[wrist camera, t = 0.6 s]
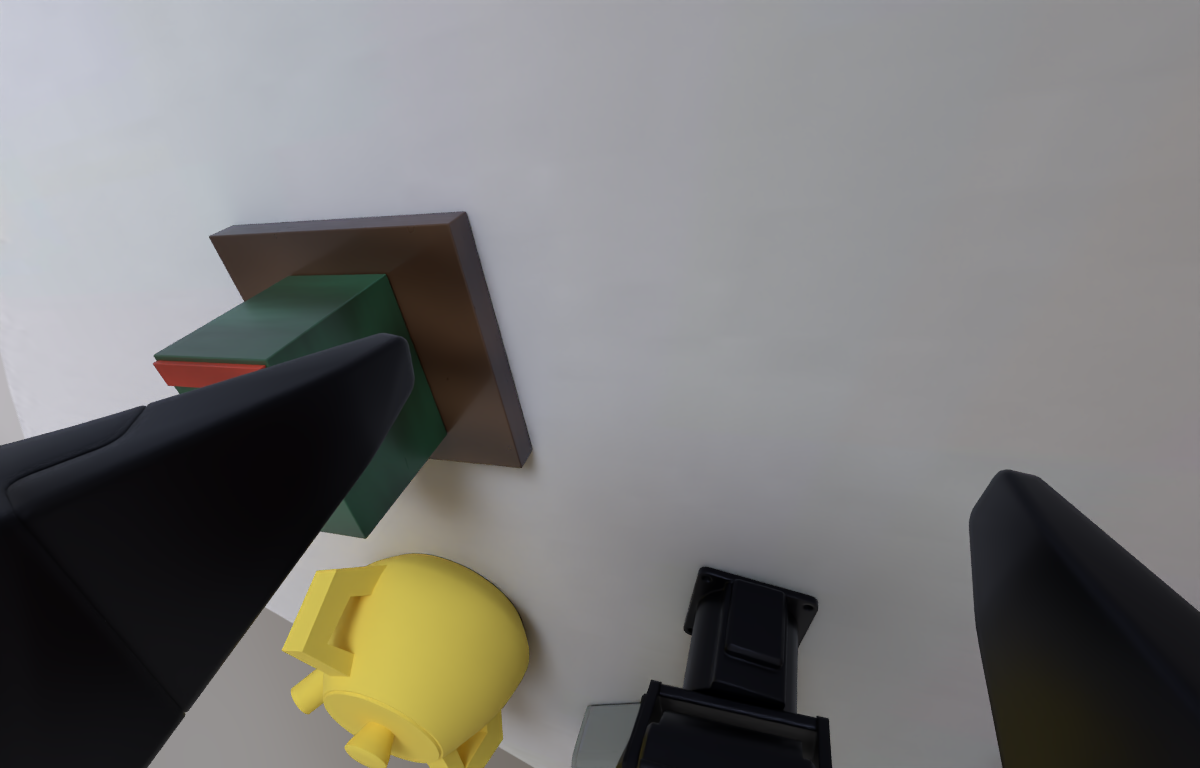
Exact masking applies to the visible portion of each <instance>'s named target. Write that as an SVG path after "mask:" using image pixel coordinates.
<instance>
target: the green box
mask: <svg viewBox="0 0 1200 768" xmlns="http://www.w3.org/2000/svg"><path fill="white" fill-rule="evenodd" d="M378 333H388V334H392V335H397V336H401V337H403V338H405V339H406V340H407V342H408V344H409V349H410V354H411V360H412V365H413V371H414V377H415V380H414V387H413V390H412V392H411V394H410V396H409V397H408V399H407V401H406V402H405V404H404V406H403V408H402V409H401V411H400V413H399V415H398V416H397V418H396V420H395V421H394V423H393V425H392V427H391V428H390V430H389V432H388V434H387V435H386V437H385V439H384V440H383V442H382V444H381V446H380V447H379V449H378V451H377V452H376V454H375V456H374V457H373V459H372V460H371V462H370V463H369V465H368V466H367V468H366V469H365V471H364V472H363V473H362V475H361V476H360V478H359V479H358V480H357V482H356V483H355V484H354V486H353V487H352V488H351V490H350V491H349V493H348V494H347V495H346V497H345V498H344V499H343V501H342V502H341V503H340V505H339V506H338V508H337V509H336V510H335V512H334V513H333V514H332V516H331V517H330V518H329V520H328V521H327V523H326V524H325V525H324V527H323V528H322V529H321V532H327V533H333V534H339V535H346V536H352V537H358V538H364V539H366V538H367V537H368V536H369V534H370V533H371V532H372V530H373V529H374V528H375V527H376V525H377V524H378V523H379V521H380V520H381V519H382V518H383V516H384V515H385V514H386V512H387V511H388V510H389V509H390V507H391V506H392V505H393V503H394V502H395V501H396V500H397V498H398V497H399V496H400V494H401V493H402V492H403V491H404V489H405V488H406V487H407V486H408V484H409V483H410V482H411V480H412V479H413V478H414V477H415V475H416V474H417V473H418V471H419V470H420V469H421V468H422V466H423V465H424V464H425V462H426V461H427V460H428V459H429V457H430V456H431V455H432V453H433V452H434V451H435V450H436V448H437V447H438V446H439V444H440V443H441V442H442V441H443V439H444V438H445V437H446V435H447V432H446V429H445V427H444V424H443V421H442V419H441V416H440V414H439V411H438V408H437V406H436V403H435V400H434V398H433V395H432V393H431V390H430V387H429V385H428V382H427V379H426V377H425V374H424V372H423V369H422V366H421V364H420V361H419V359H418V356H417V353H416V351H415V348H414V345H413V343H412V340H411V338H410V335H409V332H408V330H407V327H406V324H405V322H404V319H403V317H402V314H401V311H400V309H399V306H398V303H397V301H396V298H395V296H394V293H393V290H392V288H391V285H390V283H389V280H388V277H387V275H386V274H354V275H305V276H287V277H286V278H284V279H282V280H281V281H279V282H277V283H275V284H274V285H272V286H270V287H269V288H267V289H265V290H264V291H262V292H260V293H258V294H257V295H255V296H253V297H252V298H250V299H248V300H247V301H245V302H243V303H241V304H240V305H238V306H236V307H235V308H233V309H231V310H229V311H228V312H226V313H224V314H223V315H221V316H219V317H218V318H216V319H214V320H212V321H211V322H209V323H207V324H206V325H204V326H202V327H201V328H199V329H197V330H195V331H194V332H192V333H190V334H189V335H187V336H185V337H183V338H182V339H180V340H178V341H177V342H175V343H173V344H172V345H170V346H168V347H166V348H165V349H163V350H161V351H160V352H158V353H156V354H155V355H154V357H155V359H156V360H157V361H156V362H154V363H153V365H154V366H155V368H156V369H157V371H158V372H159V373H160V375H161V376H162V378H163V379H164V381H165V382H166V383H167V385H168V386H174V387H175V388H176V389H177V391H178V392H179V394H182V393H185V392H188V391H192V390H195V389H198V388H202V387H205V386H208V385H211V384H215V383H218V382H221V381H224V380H228V379H231V378H234V377H238V376H241V375H244V374H247V373H251V372H254V371H257V370H260V369H264V368H267V367H270V366H273V365H277V364H280V363H283V362H287V361H290V360H293V359H296V358H300V357H303V356H306V355H309V354H313V353H316V352H319V351H323V350H326V349H329V348H332V347H336V346H339V345H342V344H345V343H349V342H352V341H355V340H359V339H362V338H365V337H368V336H372V335H375V334H378Z"/></svg>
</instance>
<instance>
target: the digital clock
mask: <svg viewBox="0 0 1200 768" xmlns="http://www.w3.org/2000/svg"><path fill="white" fill-rule="evenodd" d="M639 707H640V703H636V704H618V705H599V706H588V707H587V709H586V712H585V715H584V719H583V722H582V725H581V728H580V732H579V735H578V738H577V742H576V745H575V749H574V752H573V757H572V765H571V767H572V768H616V766H617V763H618V761H619V759H620V757H621V755H622V753H623V751H624V749H625V747H626V745H627V743H628V740H629V738H630V736H631V733H632V730H633V727H634V723H635V720H636V717H637V714H638V711H639Z"/></svg>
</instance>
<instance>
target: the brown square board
mask: <svg viewBox="0 0 1200 768" xmlns="http://www.w3.org/2000/svg"><path fill="white" fill-rule="evenodd" d="M209 238H210V240H211V242H212V244H213V245H214V247H215V249H216V251H217V253H218V255H219V256H220V258H221V260H222V262H223V264H224V266H225V267H226V269H227V271H228V273H229V275H230V276H231V278H232V280H233V282H234V284H235V286H236V287H237V289H238V291H239V293H240V295H241V297H242V298H243V300H244V302H245V301H247V300H248V299H250V298H252V297H253V296H255V295H257V294H258V293H260V292H262V291H264V290H265V289H267V288H269V287H270V286H272V285H274V284H275V283H277V282H279V281H281V280H282V279H284V278H286V277H287V276H305V275H354V274H386V275H387V277H388V280H389V283H390V285H391V288H392V290H393V293H394V296H395V298H396V301H397V303H398V306H399V309H400V311H401V314H402V317H403V319H404V322H405V324H406V327H407V330H408V332H409V335H410V338H411V340H412V343H413V345H414V348H415V351H416V353H417V356H418V359H419V361H420V364H421V366H422V369H423V372H424V374H425V377H426V379H427V382H428V385H429V387H430V390H431V393H432V395H433V398H434V400H435V403H436V406H437V408H438V411H439V414H440V416H441V419H442V421H443V424H444V427H445V429H446V432H447V435H446V437H445V438H444V439H443V441H442V442H441V443H440V444H439V446H438V447H437V448H436V450H435V451H434V452H433V453H432V455H431V456H430V457H429V459H438V460H447V461H457V462H467V463H476V464H486V465H496V466H506V467H515V468H522V467H523V465H524V463H525V462H526V460H527V458H528V456H529V455H530V453H531V451H532V447H531V443H530V439H529V436H528V432H527V429H526V425H525V422H524V418H523V414H522V411H521V407H520V404H519V400H518V397H517V393H516V389H515V386H514V382H513V379H512V375H511V371H510V368H509V364H508V361H507V357H506V354H505V350H504V346H503V343H502V339H501V336H500V332H499V329H498V325H497V321H496V318H495V314H494V311H493V307H492V303H491V300H490V296H489V293H488V289H487V286H486V282H485V278H484V275H483V271H482V268H481V264H480V261H479V257H478V253H477V250H476V246H475V243H474V239H473V235H472V232H471V228H470V225H469V221H468V218H467V214H466V212H449V213H432V214H416V215H399V216H382V217H366V218H349V219H332V220H315V221H299V222H282V223H265V224H248V225H233V226H231V227H228V228H226V229H224V230H222V231H219V232H217V233H215V234H213V235H210V236H209Z"/></svg>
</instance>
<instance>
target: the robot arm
mask: <svg viewBox="0 0 1200 768" xmlns="http://www.w3.org/2000/svg"><path fill="white" fill-rule="evenodd" d="M414 380H415V377H414V371H413V365H412V360H411V354H410V349H409V344H408V342H407V340H406V339H405V338H403V337H401V336H397V335H392V334H388V333H378V334H375V335H372V336H368V337H365V338H362V339H359V340H355V341H352V342H349V343H345V344H342V345H339V346H336V347H332V348H329V349H326V350H323V351H319V352H316V353H313V354H309V355H306V356H303V357H300V358H296V359H293V360H290V361H287V362H283V363H280V364H277V365H273V366H270V367H267V368H264V369H260V370H257V371H254V372H251V373H247V374H244V375H241V376H238V377H234V378H231V379H228V380H224V381H221V382H218V383H215V384H211V385H208V386H205V387H202V388H198V389H195V390H192V391H188V392H185V393H182V394H179V395H175V396H172V397H169V398H166V399H162V400H159V401H156V402H152V403H150V404H148V405H147V407H146V406H139V407H136V408H132V409H129V410H126V411H123V412H119V413H116V414H113V415H109V416H106V417H103V418H99V419H96V420H92V421H89V422H85V423H82V424H79V425H75V426H72V427H68V428H65V429H61V430H57V431H54V432H50V433H46V434H42V435H39V436H35V437H31V438H27V439H24V440H20V441H17V442H13V443H9V444H5V445H1V446H0V768H147V767H148V766H149V765H150V763H151V761H152V760H153V759H154V758H155V756H156V755H157V754H158V752H159V751H160V750H161V748H162V747H163V745H164V744H165V743H166V741H167V740H168V739H169V737H170V736H171V735H172V733H173V731H174V730H175V729H176V728H177V726H178V725H179V724H180V722H181V721H182V719H183V718H184V717H185V712H187V711H189V709H190V708H191V707H192V705H193V704H194V703H195V701H196V700H197V699H198V697H199V696H200V694H201V693H202V692H203V690H204V689H205V688H206V686H207V685H208V684H209V682H210V681H211V679H212V678H213V677H214V675H215V674H216V673H217V671H218V670H219V668H220V667H221V666H222V664H223V663H224V662H225V660H226V659H227V657H228V656H229V655H230V653H231V652H232V651H233V649H234V648H235V647H236V645H237V644H238V642H239V641H240V640H241V638H242V637H243V636H244V634H245V633H246V632H247V630H248V629H249V628H250V626H251V625H252V623H253V622H254V621H255V619H256V618H257V617H258V615H259V614H260V613H261V611H262V610H263V608H264V607H265V606H266V604H267V603H268V602H269V600H270V599H271V598H272V596H273V595H274V593H275V592H276V591H277V589H278V588H279V587H280V585H281V584H282V583H283V581H284V580H285V578H286V577H287V576H288V574H289V573H290V572H291V570H292V569H293V568H294V566H295V565H296V563H297V562H298V561H299V559H300V558H301V557H302V555H303V554H304V553H305V551H306V550H307V548H308V547H309V546H310V544H311V543H312V542H313V540H314V539H315V538H316V536H317V535H318V533H319V532H320V531H321V529H322V528H323V527H324V525H325V524H326V523H327V521H328V520H329V518H330V517H331V516H332V514H333V513H334V512H335V510H336V509H337V508H338V506H339V505H340V503H341V502H342V501H343V499H344V498H345V497H346V495H347V494H348V493H349V491H350V490H351V488H352V487H353V486H354V484H355V483H356V482H357V480H358V479H359V478H360V476H361V475H362V473H363V472H364V471H365V469H366V468H367V466H368V465H369V463H370V462H371V460H372V459H373V457H374V456H375V454H376V452H377V451H378V449H379V447H380V446H381V444H382V442H383V440H384V439H385V437H386V435H387V434H388V432H389V430H390V428H391V427H392V425H393V423H394V421H395V420H396V418H397V416H398V415H399V413H400V411H401V409H402V408H403V406H404V404H405V402H406V401H407V399H408V397H409V396H410V394H411V392H412V390H413V387H414ZM969 535H970V551H971V566H972V582H973V598H974V612H975V622H976V630H977V636H978V642H979V648H980V653H981V658H982V663H983V669H984V674H985V679H986V684H987V689H988V694H989V700H990V705H991V710H992V715H993V720H994V725H995V731H996V736H997V741H998V746H999V751H1000V756H1001V762H1002V767H1003V768H1200V612H1199V611H1198V610H1197V609H1195V608H1194V607H1193V606H1192V605H1191V604H1189V603H1188V602H1187V601H1186V600H1185V599H1184V598H1182V597H1181V596H1180V595H1179V594H1178V593H1176V592H1175V591H1174V590H1173V589H1172V588H1170V587H1169V586H1168V585H1167V584H1166V583H1165V582H1163V581H1162V580H1161V579H1160V578H1159V577H1157V576H1156V575H1155V574H1154V573H1153V572H1151V571H1150V570H1149V569H1148V568H1147V567H1145V566H1144V565H1143V564H1142V563H1141V562H1140V561H1138V560H1137V559H1136V558H1135V557H1134V556H1132V555H1131V554H1130V553H1129V552H1128V551H1126V550H1125V549H1124V548H1123V547H1122V546H1121V545H1119V544H1118V543H1117V542H1116V541H1115V540H1113V539H1112V538H1111V537H1110V536H1109V535H1107V534H1106V533H1105V532H1104V531H1103V530H1102V529H1100V528H1099V527H1098V526H1097V525H1096V524H1094V523H1093V522H1092V521H1091V520H1090V519H1088V518H1087V517H1086V516H1085V515H1084V514H1082V513H1081V512H1080V511H1079V510H1078V509H1077V508H1075V507H1074V506H1073V505H1072V504H1071V503H1069V502H1068V501H1067V500H1066V499H1065V498H1063V497H1062V496H1061V495H1060V494H1059V493H1058V492H1056V491H1055V490H1054V489H1053V488H1052V487H1050V486H1049V485H1048V484H1047V483H1046V482H1044V481H1043V480H1042V479H1041V478H1039V477H1037V476H1035V475H1031V474H1026V473H1022V472H1017V471H1012V470H1002V471H1000V472H998V473H997V474H996V475H995V476H994V478H993V479H992V481H991V482H990V484H989V485H988V487H987V488H986V490H985V491H984V493H983V494H982V496H981V497H980V499H979V500H978V502H977V503H976V505H975V506H974V508H973V510H972V512H971V515H970V519H969ZM817 611H818V601H817V599H815V598H814V597H812V596H809V595H805V594H802V593H798V592H795V591H791V590H787V589H784V588H780V587H777V586H773V585H770V584H766V583H762V582H759V581H755V580H752V579H748V578H745V577H741V576H738V575H734V574H730V573H727V572H723V571H720V570H716V569H713V568H709V567H702V568H700V570H699V572H698V576H697V580H696V583H695V587H694V591H693V594H692V598H691V602H690V605H689V609H688V613H687V616H686V620H685V624H684V631H685V632H686V633H687V634H689V635H692V638H691V644H690V649H689V655H688V661H687V667H686V672H685V678H684V684H683V689H682V688H678V687H673V686H669V685H664V684H662V682H659V681H654V680H651V682H650V685H649V688H648V691H647V694H644V695H643V696H642V699H641V703H640V707H639V711H638V714H637V717H636V720H635V723H634V727H633V730H632V733H631V736H630V738H629V740H628V743H627V745H626V747H625V749H624V751H623V753H622V755H621V757H620V759H619V761H618V763H617V766H616V768H832V760H831V745H830V730H829V718H825V717H820V716H817V717H816V718H815V717H810V716H806V715H801V714H797V663H798V647H799V645H800V643H801V641H802V639H803V637H804V635H805V634H806V632H807V630H808V628H809V626H810V624H811V622H812V620H813V618H814V616H815V615H816V613H817Z"/></svg>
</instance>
